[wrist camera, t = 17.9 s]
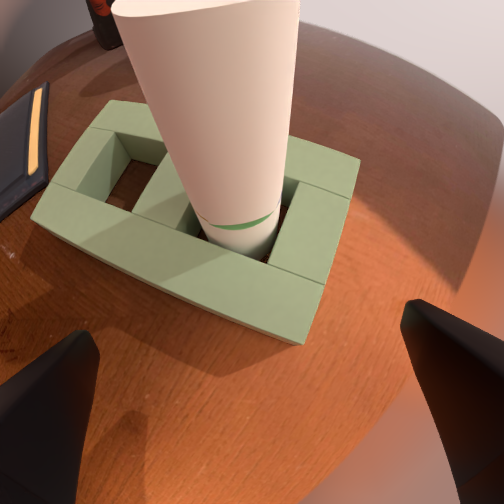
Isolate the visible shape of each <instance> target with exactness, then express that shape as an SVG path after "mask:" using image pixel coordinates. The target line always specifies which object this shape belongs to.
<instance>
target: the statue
mask: <svg viewBox="0 0 504 504" xmlns="http://www.w3.org/2000/svg"><path fill="white" fill-rule="evenodd" d="M114 2H115V0H86V3H87V6H88V10H89V12H90V16H91V19H92V21H93V25H94V26H93V31H94V34H95V36H96V38H97V40H98V41H99V43H100V45H101V46H102V47H103V48H104V49H105V50H110V49H113V48H115V47H117V46H120V45H122V44H123V41H122V38H121V36H120V33H119V31H118V28H117V25H116V23H115V20H114V17H113V14H112V12H111V7H112V4H113V3H114Z"/></svg>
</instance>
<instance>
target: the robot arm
mask: <svg viewBox="0 0 504 504" xmlns="http://www.w3.org/2000/svg"><path fill="white" fill-rule="evenodd" d="M400 329H401V333H402V336H403V339H404V342H405V345H406V348H407V351H408V354H409V357H410V360H411V363H412V366H413V369H414V372H415V375H416V377H417V380H418V382H419V384H420V387H421V389H422V391H423V394H424V396H425V399H426V401H427V404H428V406H429V409H430V411H431V414H432V416H433V419H434V422H435V424H436V427H437V430H438V432H439V435H440V438H441V440H442V444H443V447H444V449H445V452H446V455H447V458H448V461H449V464H450V467H451V471H452V474H453V478H454V481H455V484H456V488H457V492H458V496H459V500H460V504H504V341H502V340H500V339H498V338H497V337H495V336H493V335H491V334H489V333H487V332H485V331H483V330H481V329H479V328H477V327H475V326H473V325H471V324H469V323H467V322H466V321H464V320H462V319H460V318H457V317H455V316H454V315H452V314H450V313H448V312H446V311H444V310H442V309H440V308H438V307H436V306H434V305H432V304H430V303H428V302H426V301H424V300H421V299H414V300H409V301H408V302H407V303H406V304H405V308H404V312H403V316H402V320H401V324H400ZM99 361H100V353H99V350H98V348H97V346H96V344H95V342H94V340H93V338H92V336H91V334H90V333H89V332H88V331H87V330H75V331H74V332H72V333H71V334H69V335H68V336H67V337H65V338H64V339H62V340H61V341H60V342H58V343H57V344H55V345H54V346H53V347H51V348H50V349H49V350H47V351H46V352H45V353H43V354H42V355H40V356H39V357H38V358H36V359H35V360H34V361H32V362H31V363H30V364H28V365H27V366H26V367H24V368H23V369H22V370H20V371H19V372H18V373H16V374H15V375H14V376H13V377H11V378H10V379H9V380H7V381H6V382H5V383H3V384H2V385H1V386H0V504H75V501H76V492H77V484H78V477H79V470H80V464H81V458H82V452H83V447H84V441H85V436H86V431H87V427H88V422H89V417H90V413H91V409H92V404H93V399H94V392H95V385H96V379H97V372H98V366H99Z"/></svg>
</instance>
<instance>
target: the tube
mask: <svg viewBox="0 0 504 504" xmlns="http://www.w3.org/2000/svg"><path fill="white" fill-rule="evenodd" d="M299 10H300V0H115V2H114V3H113V4H112V7H111V12H112V14H113V17H114V20H115V23H116V25H117V28H118V31H119V33H120V36H121V38H122V41H123V44H124V46H125V49H126V51H127V54H128V57H129V59H130V62H131V64H132V67H133V69H134V72H135V74H136V77H137V79H138V82H139V84H140V87H141V89H142V92H143V94H144V96H145V99H146V101H147V104H148V106H149V109H150V111H151V113H152V116H153V118H154V120H155V123H156V125H157V127H158V130H159V132H160V135H161V137H162V139H163V141H164V144H165V146H166V148H167V151H168V153H169V155H170V158H171V160H172V162H173V164H174V167H175V169H176V171H177V173H178V176H179V178H180V180H181V182H182V184H183V187H184V189H185V191H186V193H187V195H188V198H189V200H190V202H191V204H192V206H193V209H194V211H195V213H196V215H197V217H198V219H199V221H200V224H201V226H202V228H203V230H204V232H205V234H206V236H207V238H208V241H209V243H212V244H214V245H217V246H220V247H222V248H225V249H228V250H230V251H233V252H236V253H238V254H241V255H244V256H246V257H249V258H252V259H254V260H257V261H259V260H261V259H262V258H264V257H265V256H266V255H267V254H268V253H269V252H270V251H271V249H272V248H273V246H274V244H275V240H276V236H277V228H278V220H279V212H280V204H281V195H282V187H283V178H284V169H285V160H286V151H287V142H288V132H289V123H290V113H291V103H292V92H293V82H294V71H295V60H296V48H297V36H298V24H299Z"/></svg>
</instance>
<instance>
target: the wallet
mask: <svg viewBox="0 0 504 504" xmlns="http://www.w3.org/2000/svg"><path fill="white" fill-rule="evenodd" d="M48 93H49V82H48V81H46V82H44V83H43V84H41V85H40V86H39V87H37V88H35V89H33V90H31V91H30V92H28V93H27V94H25V95H24V96H22V97H21V98H20V99H19V100H17V101H16V102H15V103H13V104H12V105H11V106H10V107H8V108H7V109H6V110H5V111H4V112H2V113H1V114H0V221H2V220H3V219H4V218H5V217H6V216H8V215H9V214H10V213H11V212H13V211H14V210H15V209H16V208H18V207H19V206H20V205H21V204H23V203H24V202H25V201H27V200H28V199H29V198H30V197H32V196H33V195H34V194H36V193H37V192H38V191H40V190H41V189H42V188H44V187H45V186H47V185H48V162H47V107H48Z"/></svg>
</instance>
